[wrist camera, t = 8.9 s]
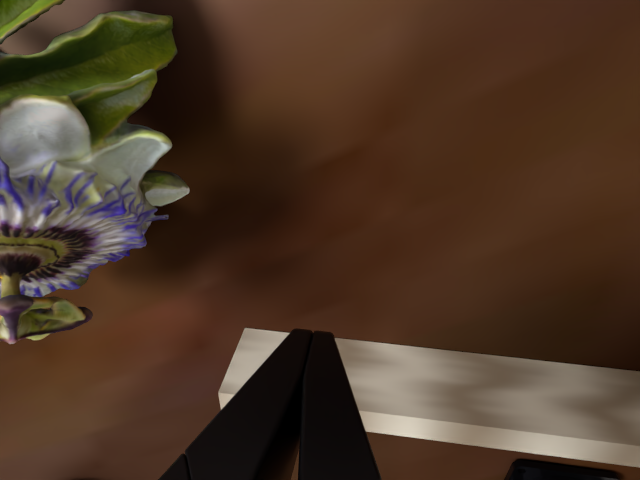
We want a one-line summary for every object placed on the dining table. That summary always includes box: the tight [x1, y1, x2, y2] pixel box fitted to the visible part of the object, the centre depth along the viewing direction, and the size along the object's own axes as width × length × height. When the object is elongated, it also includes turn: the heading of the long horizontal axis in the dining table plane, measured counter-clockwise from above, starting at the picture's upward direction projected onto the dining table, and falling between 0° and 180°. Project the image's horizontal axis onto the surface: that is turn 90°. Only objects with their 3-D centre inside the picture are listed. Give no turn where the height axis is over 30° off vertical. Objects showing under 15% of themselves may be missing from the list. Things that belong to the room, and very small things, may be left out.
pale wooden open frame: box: [218, 328, 640, 467], centre depth 15 cm, size 24×23×4 cm
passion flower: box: [0, 0, 190, 344], centre depth 15 cm, size 13×12×14 cm
